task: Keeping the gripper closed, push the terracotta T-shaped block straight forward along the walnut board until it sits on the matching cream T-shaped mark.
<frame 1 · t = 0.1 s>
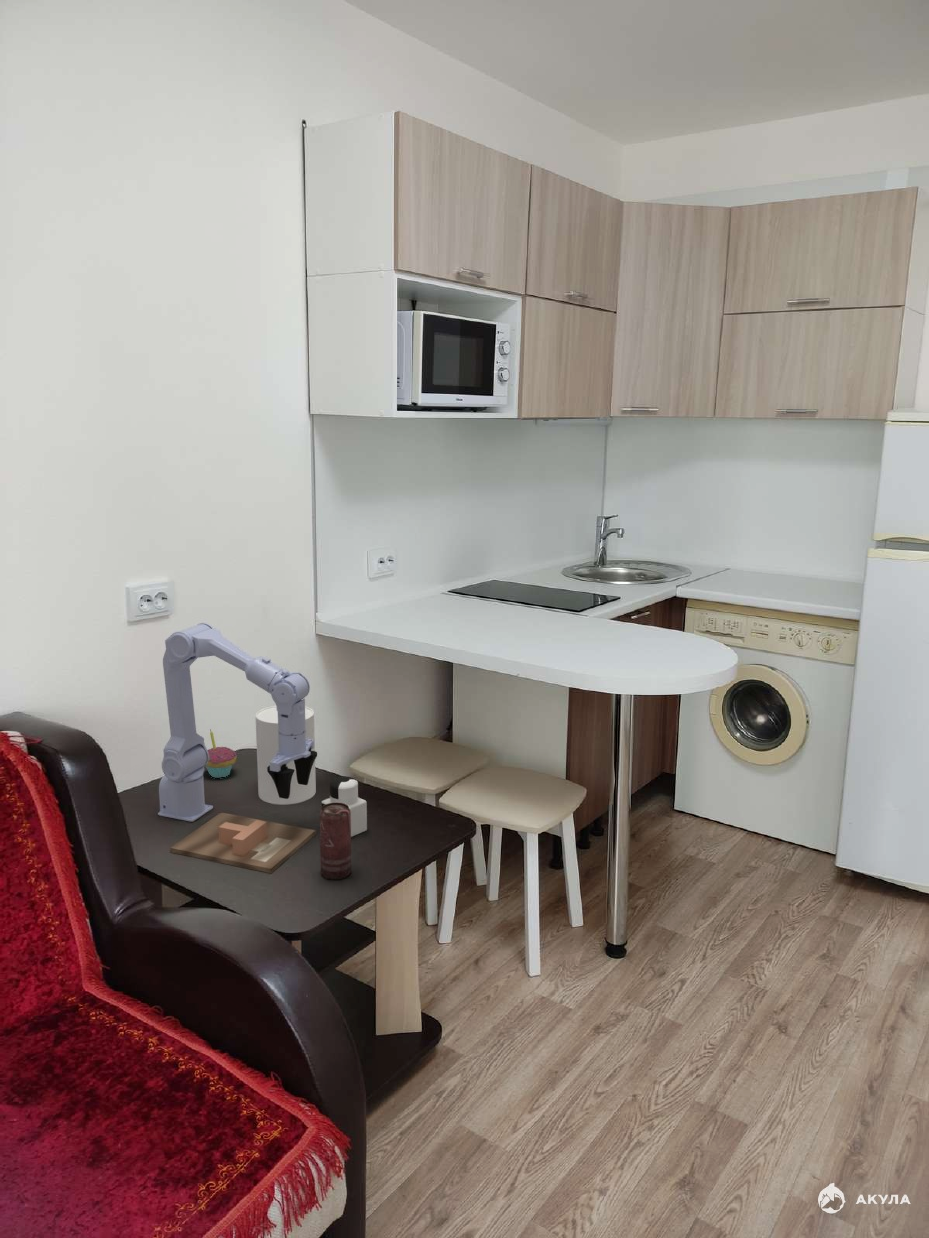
hand: (293, 790, 194), 10 cm above the table, tool pointing down, fingers open, 7 cm apart
t block: (239, 842, 190), point 1 cm above the table, touching board
can: (336, 873, 181), on the table
medicine bottle: (344, 831, 199), on the table
cupcake: (220, 775, 227), on the table
board: (244, 843, 192), on the table
canister: (287, 793, 218), on the table
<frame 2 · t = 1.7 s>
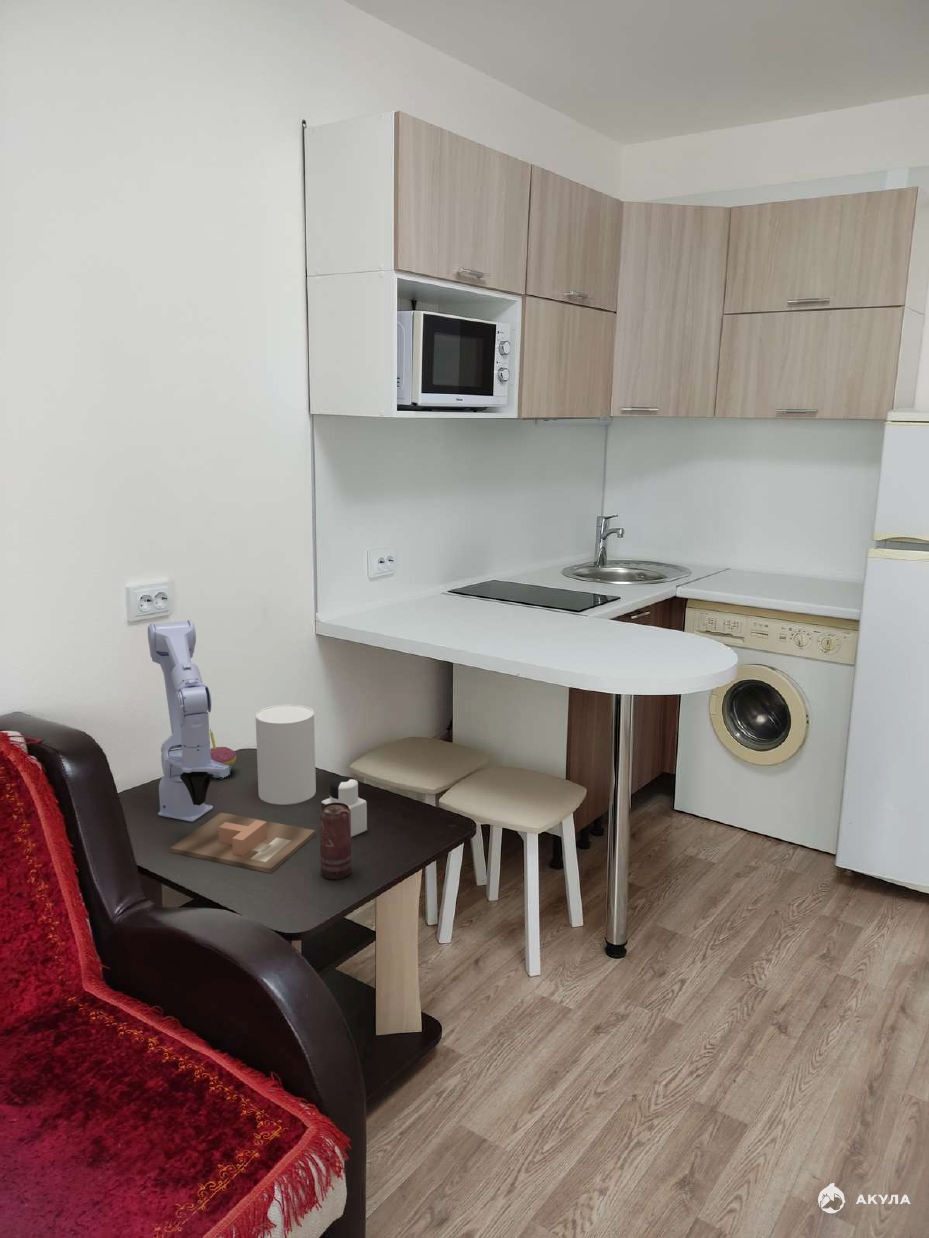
hand: (199, 803, 191), 8 cm above the table, tool pointing down, fingers closed
nothing on the table moved.
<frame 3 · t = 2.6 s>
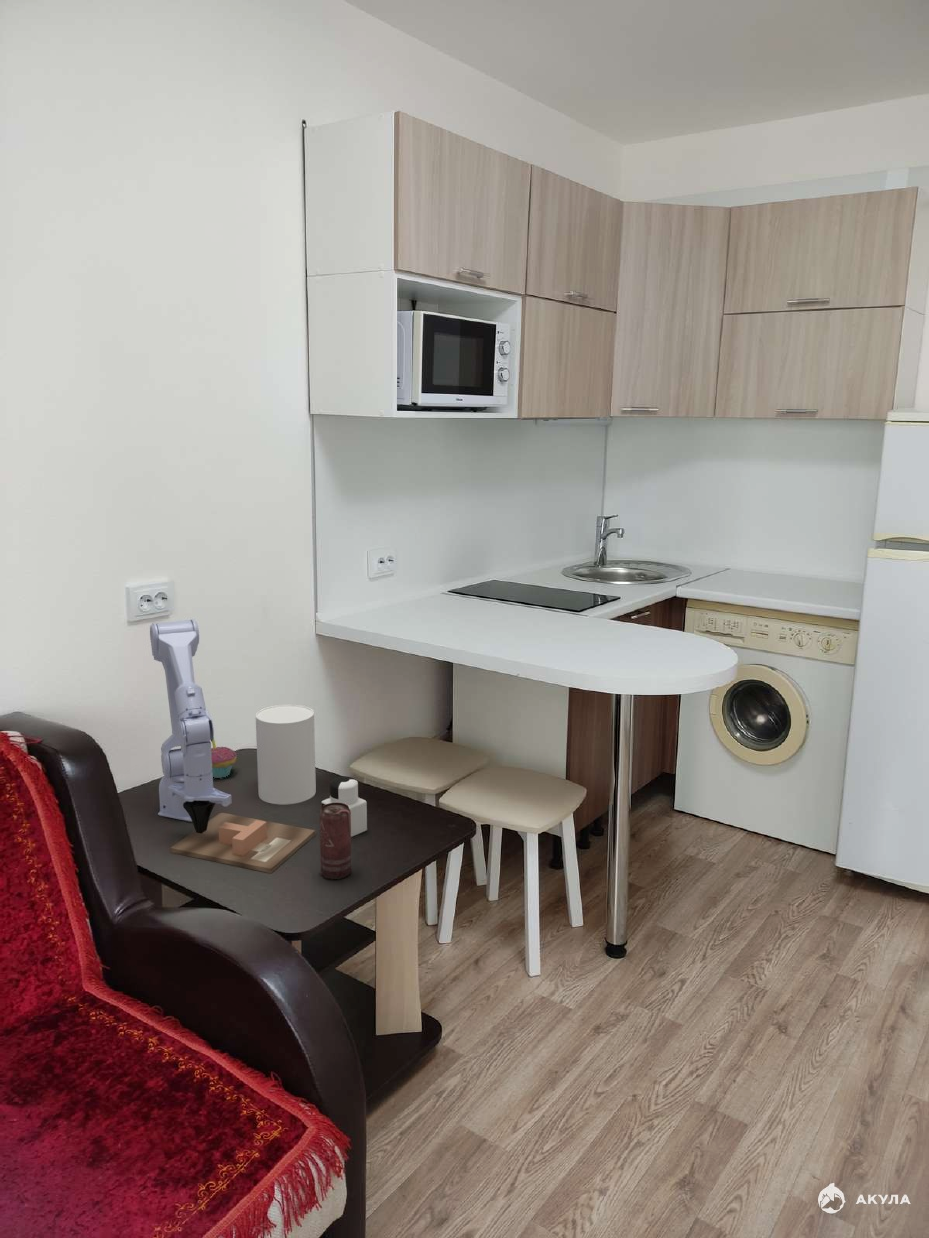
hand: (201, 831, 193), 2 cm above the table, tool pointing down, fingers closed
nothing on the table moved.
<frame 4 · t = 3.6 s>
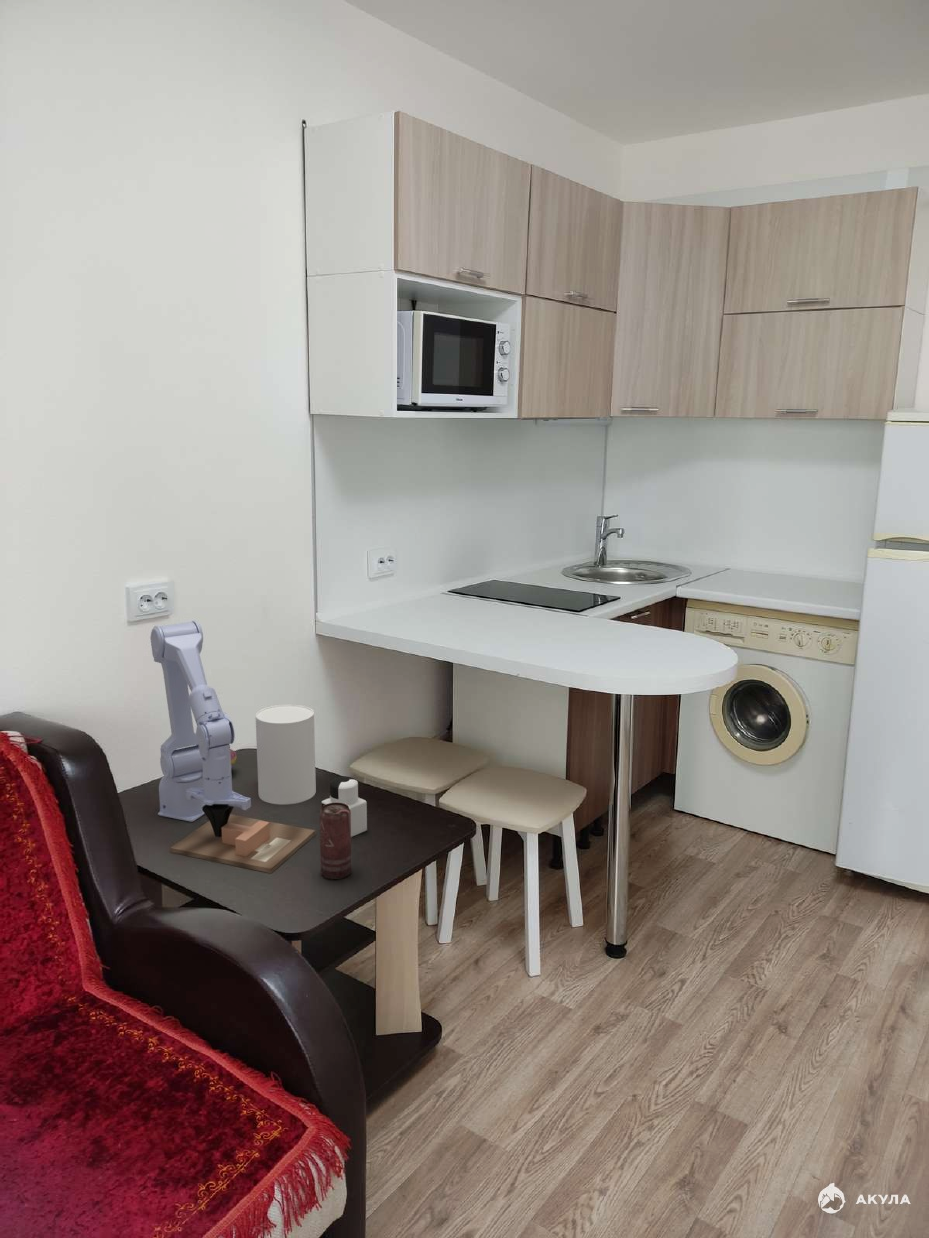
hand: (220, 834, 191), 2 cm above the table, tool pointing down, fingers closed
t block: (242, 843, 190), point 1 cm above the table, touching gripper
everything else where it was.
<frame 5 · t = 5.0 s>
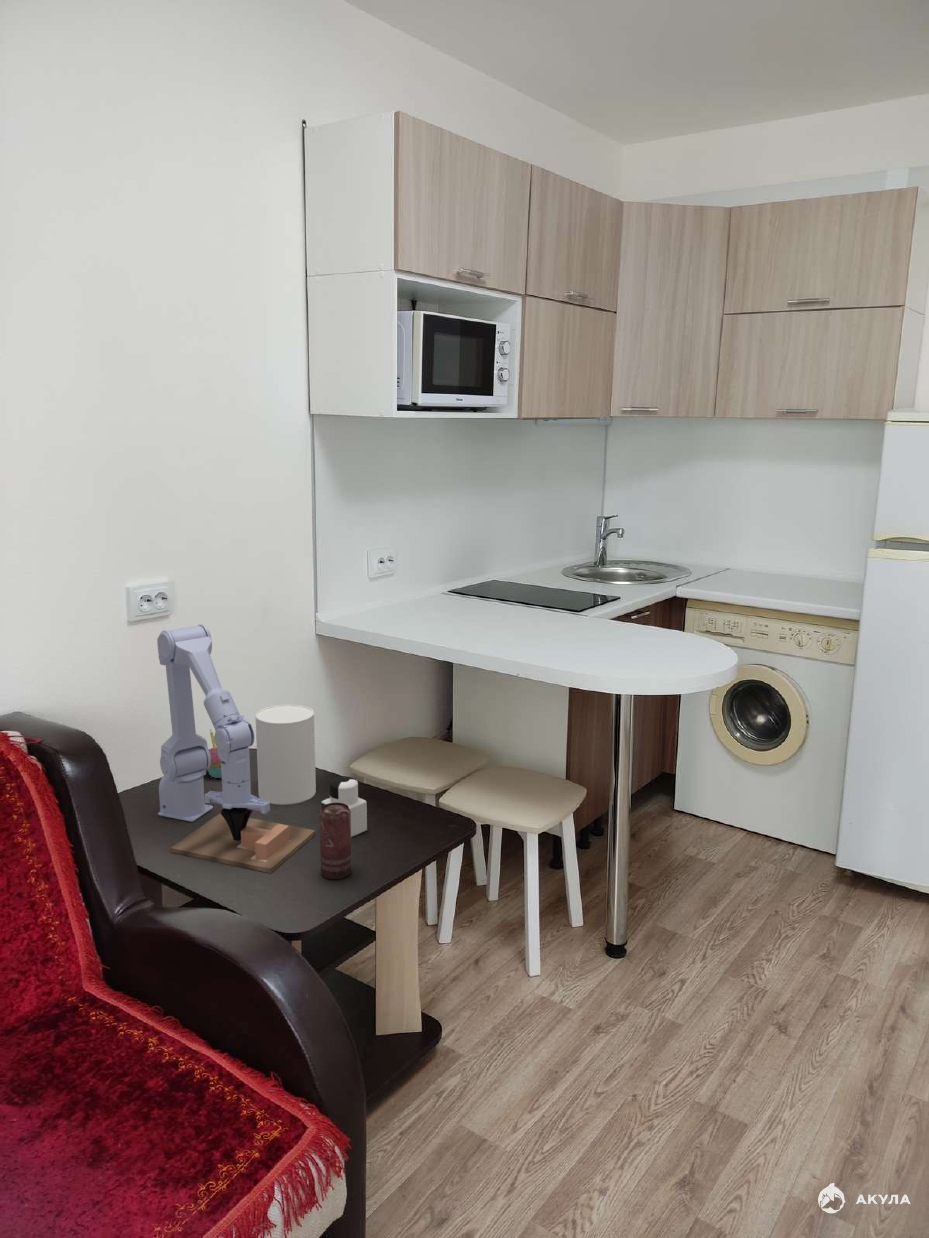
hand: (238, 838, 190), 2 cm above the table, tool pointing down, fingers closed
t block: (261, 847, 188), point 1 cm above the table, touching board, gripper
everything else where it was.
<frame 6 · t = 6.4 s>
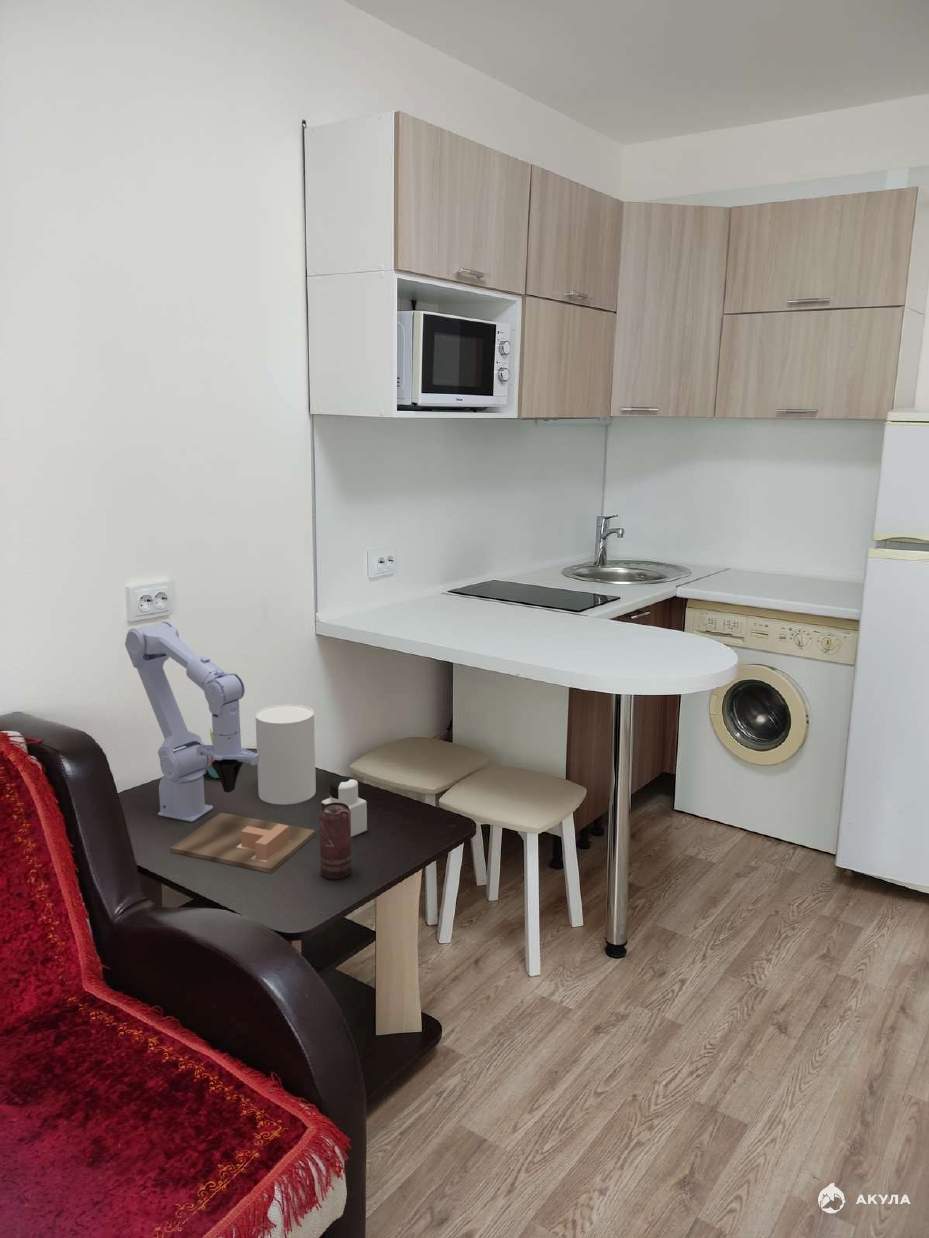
hand: (229, 790, 196), 9 cm above the table, tool pointing down, fingers closed
t block: (261, 847, 188), point 1 cm above the table, touching board
everything else where it was.
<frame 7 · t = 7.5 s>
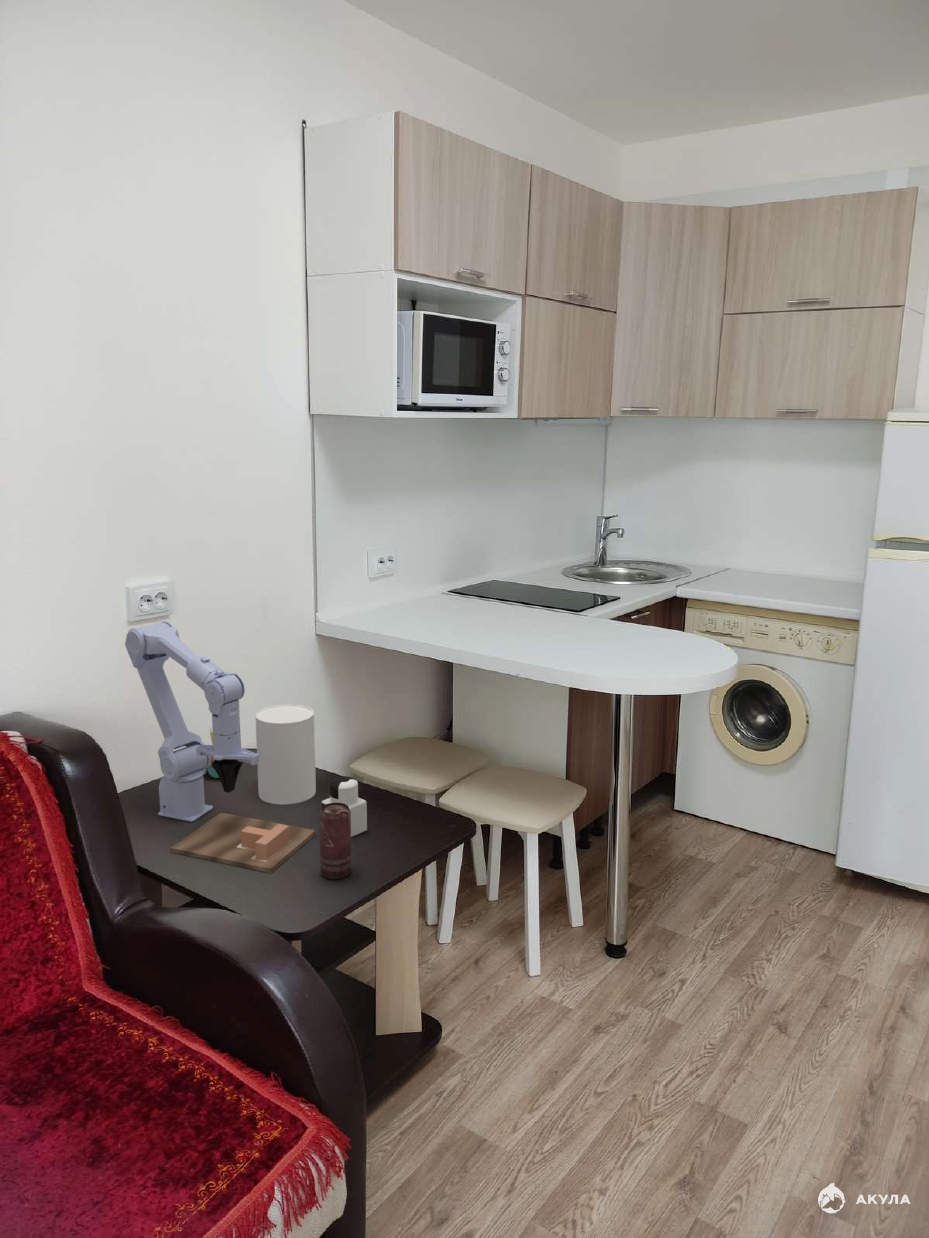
hand: (229, 790, 196), 9 cm above the table, tool pointing down, fingers closed
nothing on the table moved.
at the end: t block 0.4 cm from the target spot on the board, point 1.0 cm above the board's base; t block tilted 0° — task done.
